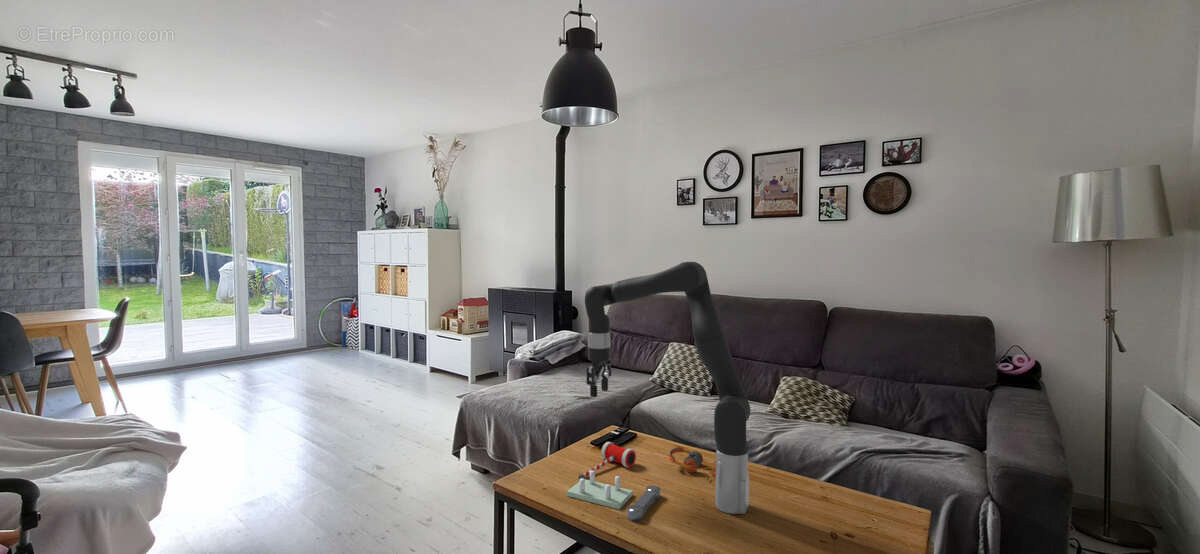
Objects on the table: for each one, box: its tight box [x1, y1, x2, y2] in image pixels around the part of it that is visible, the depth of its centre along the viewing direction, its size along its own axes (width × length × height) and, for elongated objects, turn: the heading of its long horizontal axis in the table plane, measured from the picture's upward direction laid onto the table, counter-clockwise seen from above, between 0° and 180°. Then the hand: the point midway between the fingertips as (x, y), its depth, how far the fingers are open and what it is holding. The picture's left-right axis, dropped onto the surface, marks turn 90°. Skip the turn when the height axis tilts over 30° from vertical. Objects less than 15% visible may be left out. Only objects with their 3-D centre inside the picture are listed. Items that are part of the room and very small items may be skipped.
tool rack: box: [566, 469, 634, 510], centre depth 160 cm, size 18×10×6 cm, turn 62°
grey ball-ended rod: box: [626, 485, 661, 523], centre depth 153 cm, size 18×4×3 cm, turn 152°
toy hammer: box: [578, 441, 637, 480], centre depth 179 cm, size 23×12×6 cm, turn 138°
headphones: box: [668, 447, 716, 481], centre depth 179 cm, size 17×5×20 cm
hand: (599, 393), depth 172 cm, fingers open, 8 cm apart
